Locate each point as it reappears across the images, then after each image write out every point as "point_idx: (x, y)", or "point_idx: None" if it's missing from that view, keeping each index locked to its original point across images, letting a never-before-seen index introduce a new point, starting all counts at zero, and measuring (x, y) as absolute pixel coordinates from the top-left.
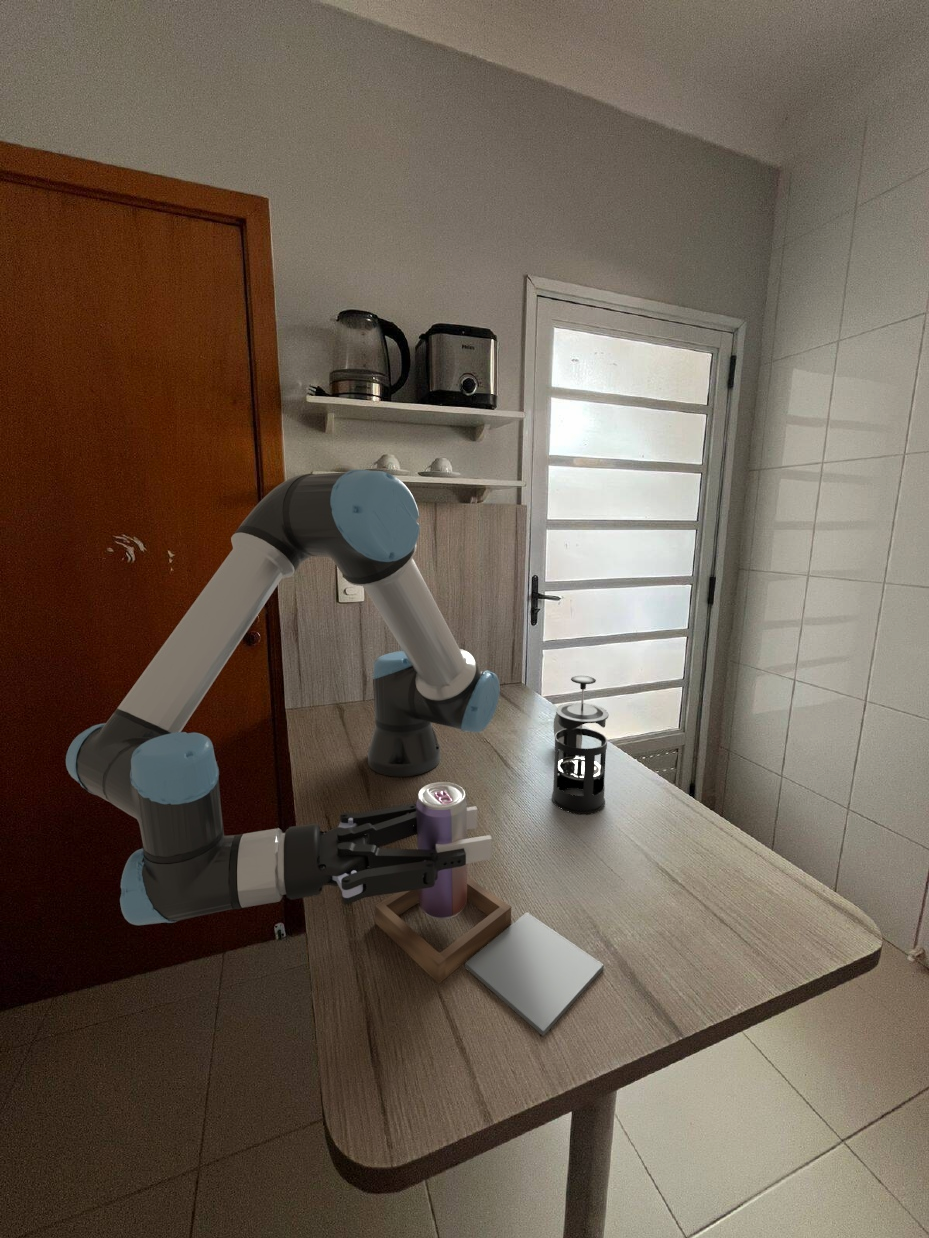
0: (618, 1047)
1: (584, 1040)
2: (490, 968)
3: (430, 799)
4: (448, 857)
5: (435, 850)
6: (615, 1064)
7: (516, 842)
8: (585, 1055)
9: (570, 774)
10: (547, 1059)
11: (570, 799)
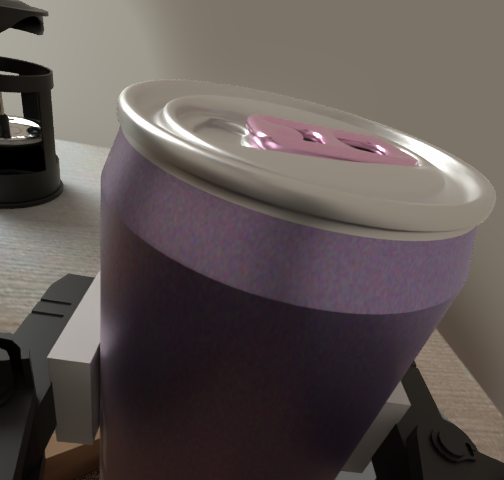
0: (450, 364)
1: (451, 393)
2: (352, 478)
3: (370, 175)
4: (423, 385)
5: (423, 420)
6: (473, 378)
7: (25, 290)
8: (473, 403)
9: (10, 138)
10: (497, 455)
11: (26, 183)
